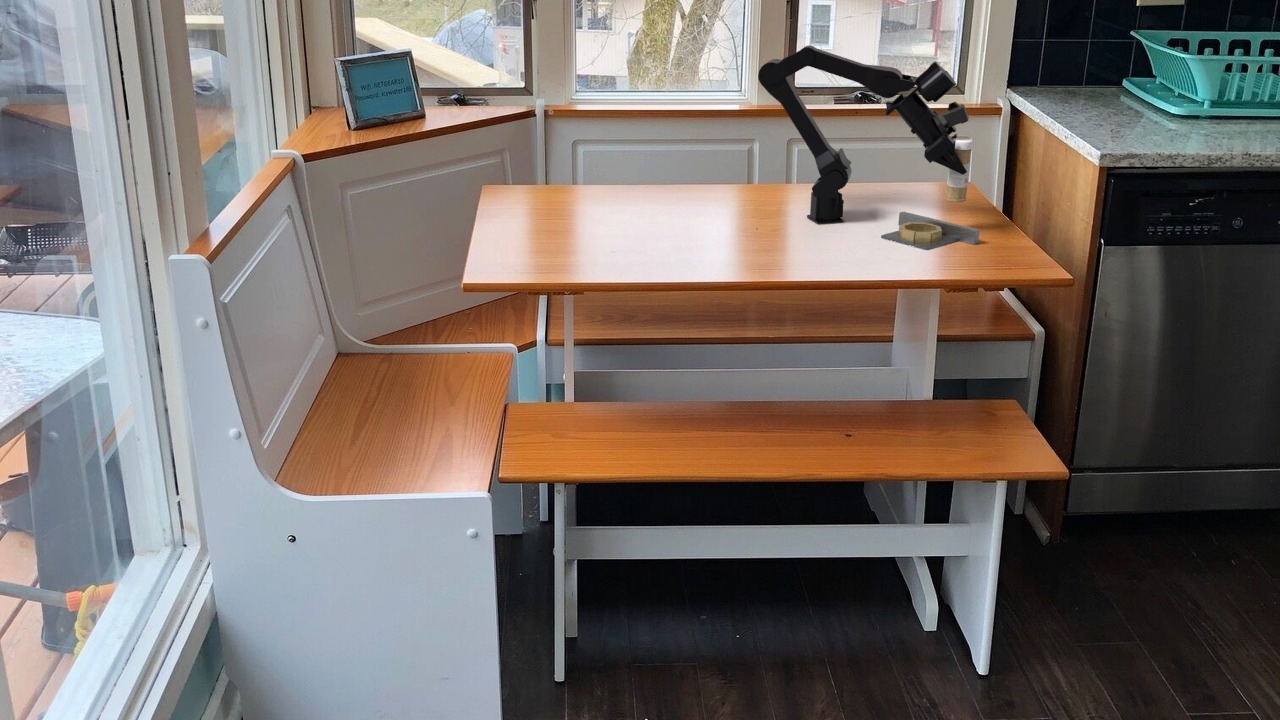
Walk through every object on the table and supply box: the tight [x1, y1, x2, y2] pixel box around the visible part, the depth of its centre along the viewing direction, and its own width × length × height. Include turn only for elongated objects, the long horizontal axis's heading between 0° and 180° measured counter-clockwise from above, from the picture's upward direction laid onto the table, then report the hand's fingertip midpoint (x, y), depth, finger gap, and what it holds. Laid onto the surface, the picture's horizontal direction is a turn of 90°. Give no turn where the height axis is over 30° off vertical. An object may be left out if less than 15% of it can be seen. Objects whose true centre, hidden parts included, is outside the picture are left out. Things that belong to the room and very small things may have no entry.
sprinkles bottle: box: [944, 137, 974, 203], centre depth 262 cm, size 5×5×13 cm
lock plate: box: [880, 211, 980, 251], centre depth 260 cm, size 20×12×3 cm, turn 41°
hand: (965, 171), depth 262 cm, fingers closed on sprinkles bottle, 4 cm apart
